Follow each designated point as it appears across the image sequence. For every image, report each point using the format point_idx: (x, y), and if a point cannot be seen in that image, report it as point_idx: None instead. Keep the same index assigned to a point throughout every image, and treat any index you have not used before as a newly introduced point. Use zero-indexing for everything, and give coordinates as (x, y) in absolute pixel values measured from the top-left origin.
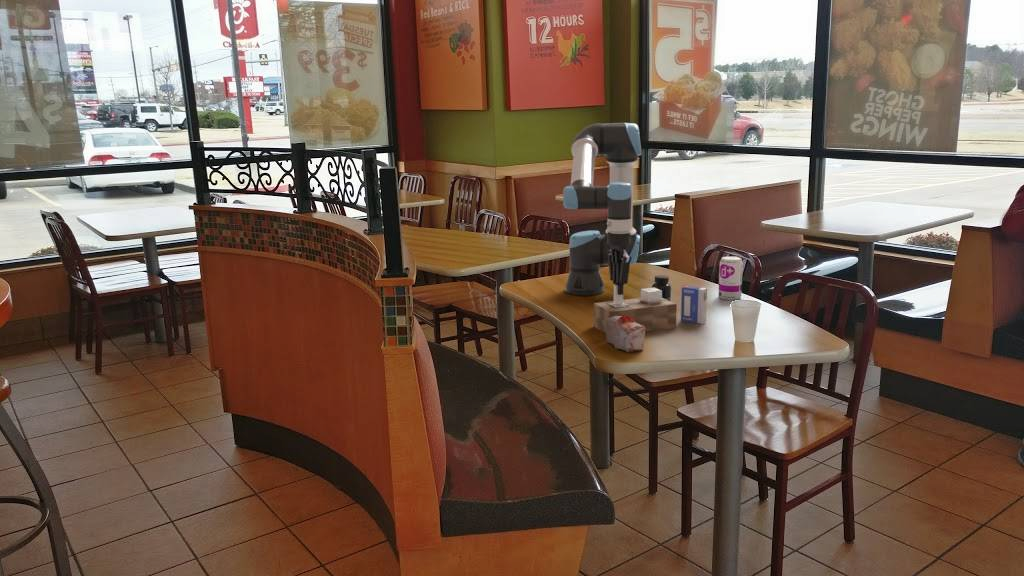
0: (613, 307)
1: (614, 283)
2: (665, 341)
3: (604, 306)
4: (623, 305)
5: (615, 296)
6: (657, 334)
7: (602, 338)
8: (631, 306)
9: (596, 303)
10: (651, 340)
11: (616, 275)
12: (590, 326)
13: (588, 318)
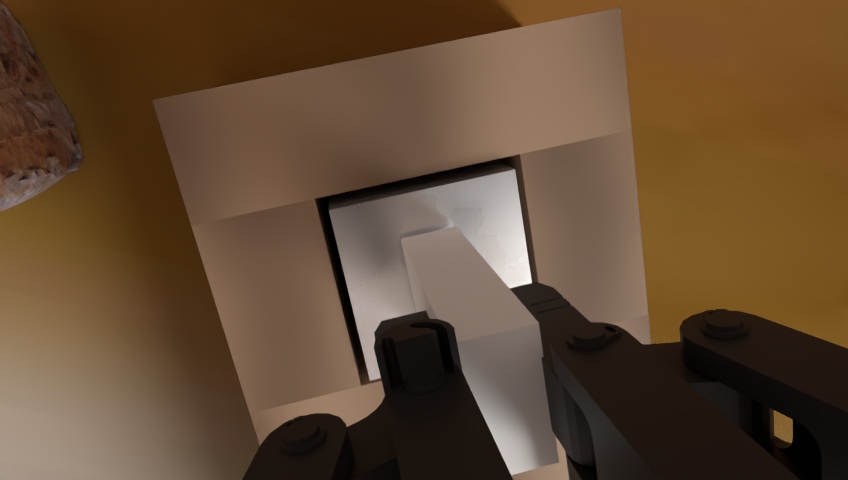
0: (366, 197)
1: (445, 329)
2: (16, 473)
3: (432, 100)
4: (378, 322)
5: (426, 268)
6: (211, 457)
7: (155, 6)
8: (362, 399)
9: (598, 40)
10: (52, 385)
11: (504, 477)
12: (539, 3)
13: (762, 53)
